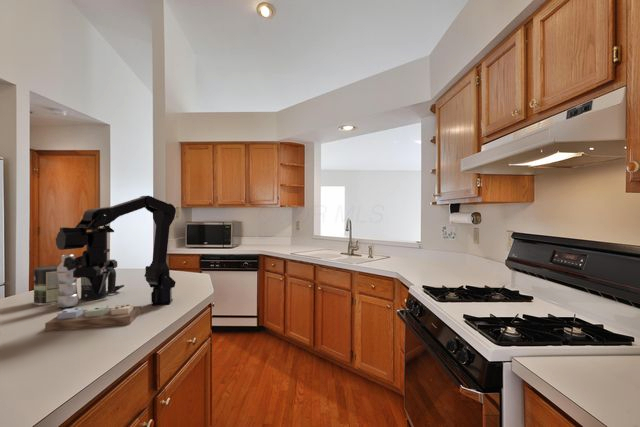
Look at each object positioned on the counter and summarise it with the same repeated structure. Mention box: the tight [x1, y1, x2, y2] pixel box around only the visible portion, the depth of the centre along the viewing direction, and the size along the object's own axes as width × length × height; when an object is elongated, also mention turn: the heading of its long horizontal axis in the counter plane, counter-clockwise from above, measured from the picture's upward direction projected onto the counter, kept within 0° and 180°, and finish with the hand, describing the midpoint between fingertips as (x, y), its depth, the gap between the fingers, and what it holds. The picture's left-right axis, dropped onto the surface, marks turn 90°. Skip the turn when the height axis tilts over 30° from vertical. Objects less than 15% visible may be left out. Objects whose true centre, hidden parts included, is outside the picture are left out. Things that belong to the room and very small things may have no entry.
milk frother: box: [79, 267, 125, 301], centre depth 138 cm, size 14×16×15 cm
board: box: [44, 305, 142, 332], centre depth 105 cm, size 23×12×2 cm, turn 105°
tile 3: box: [111, 303, 134, 315], centre depth 106 cm, size 5×5×2 cm
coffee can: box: [32, 264, 60, 306], centre depth 129 cm, size 10×10×14 cm
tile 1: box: [85, 305, 110, 317], centre depth 105 cm, size 5×5×2 cm
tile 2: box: [56, 307, 84, 319], centre depth 103 cm, size 5×5×2 cm
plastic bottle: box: [56, 253, 80, 309], centre depth 121 cm, size 6×7×20 cm
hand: (97, 293), depth 105 cm, fingers closed
